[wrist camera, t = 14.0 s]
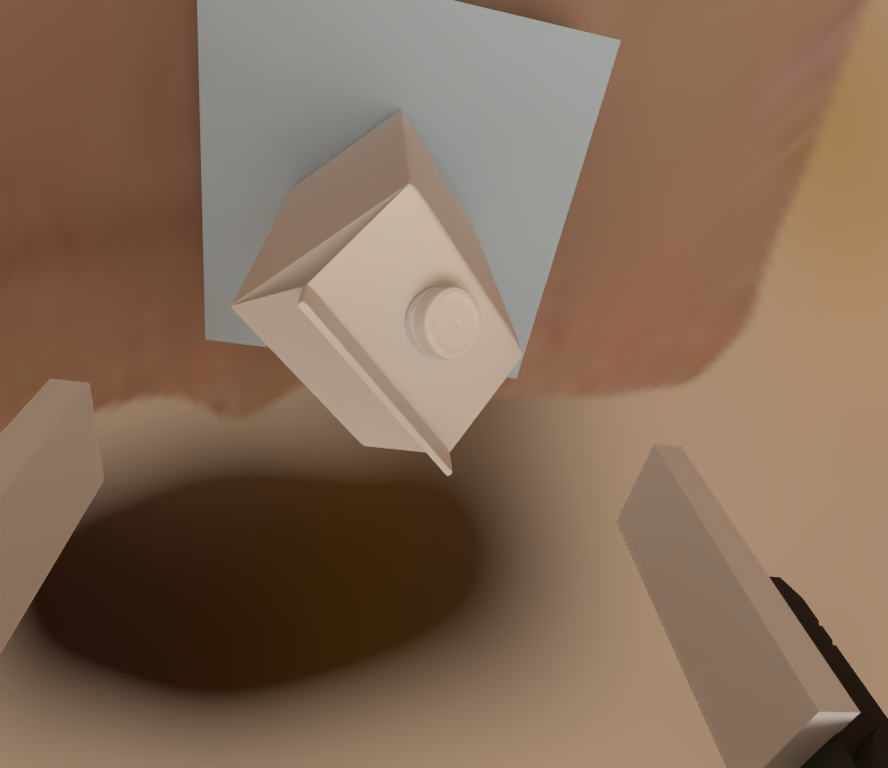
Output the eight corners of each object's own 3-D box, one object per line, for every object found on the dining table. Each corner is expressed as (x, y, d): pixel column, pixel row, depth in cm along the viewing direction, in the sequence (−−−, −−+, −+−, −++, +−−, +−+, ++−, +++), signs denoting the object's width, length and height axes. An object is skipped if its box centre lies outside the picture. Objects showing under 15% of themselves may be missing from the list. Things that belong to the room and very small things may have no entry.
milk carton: (371, 287, 35) (358, 524, 19) (292, 186, 31) (194, 372, 15) (472, 222, 33) (552, 421, 17) (401, 107, 29) (418, 223, 14)
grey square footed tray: (230, 292, 41) (205, 339, 36) (231, -49, 31) (195, -62, 25) (499, 330, 45) (516, 378, 39) (581, 34, 34) (620, 40, 29)
